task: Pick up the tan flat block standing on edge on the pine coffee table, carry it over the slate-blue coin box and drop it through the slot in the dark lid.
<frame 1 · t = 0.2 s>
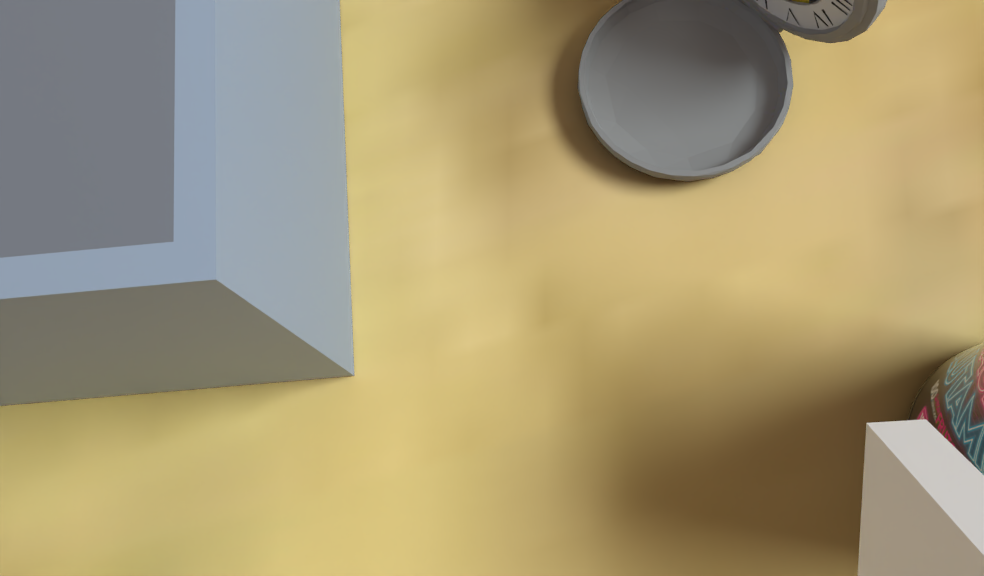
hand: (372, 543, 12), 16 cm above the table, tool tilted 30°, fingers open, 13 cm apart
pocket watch: (708, 72, 31), on the table
coin box: (136, 125, 31), on the table
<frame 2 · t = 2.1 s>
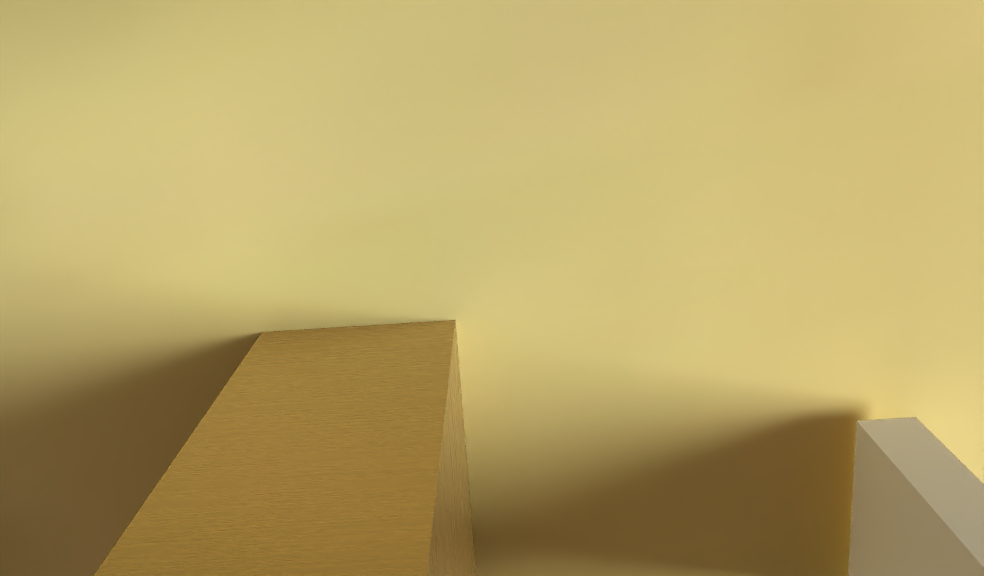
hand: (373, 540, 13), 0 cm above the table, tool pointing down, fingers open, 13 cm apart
tan flat block: (381, 530, 13), on the table
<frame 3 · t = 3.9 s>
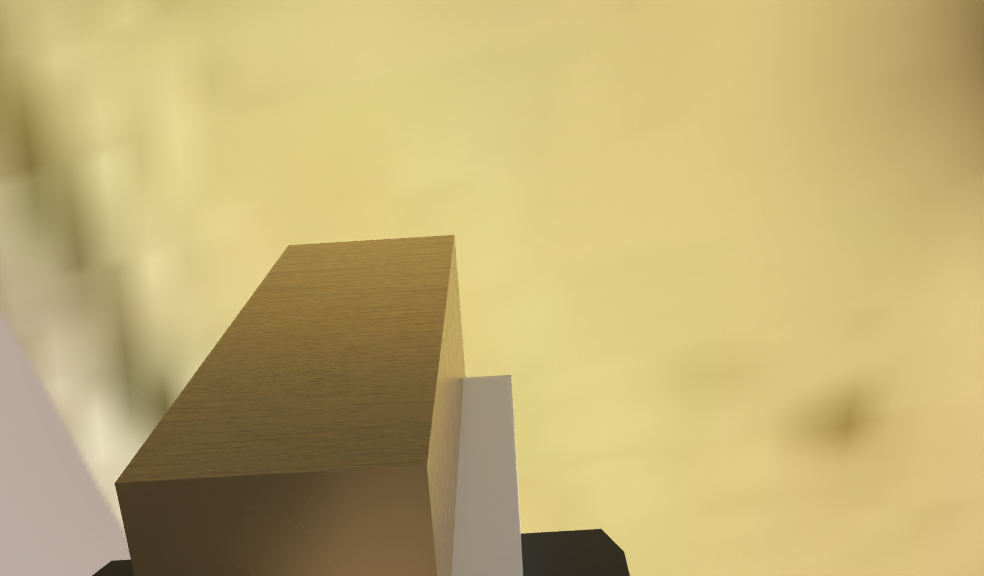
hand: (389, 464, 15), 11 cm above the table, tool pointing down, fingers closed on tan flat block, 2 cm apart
tan flat block: (390, 420, 15), point 10 cm above the table, touching gripper
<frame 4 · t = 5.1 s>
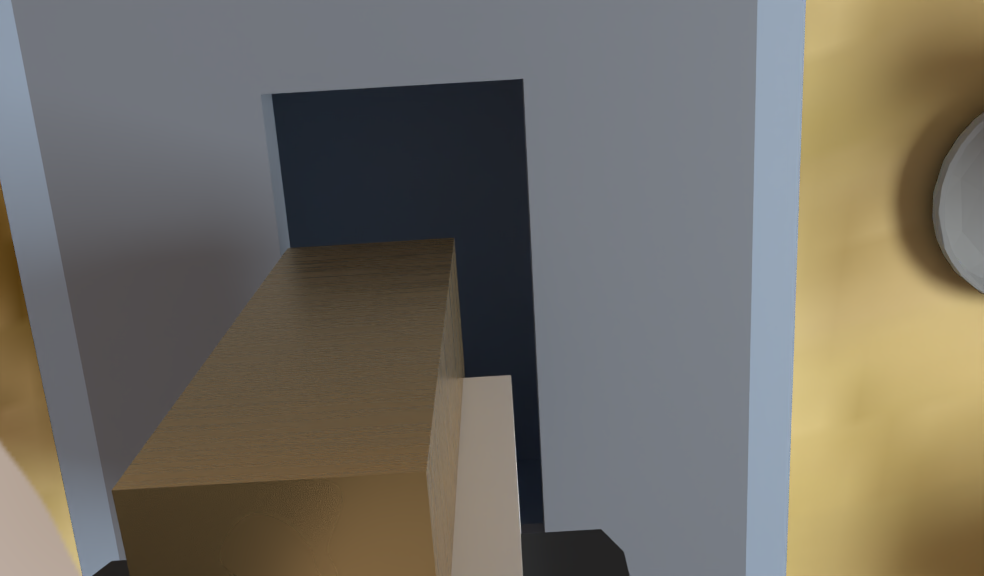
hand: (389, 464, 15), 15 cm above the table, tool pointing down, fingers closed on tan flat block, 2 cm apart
tan flat block: (390, 423, 15), point 15 cm above the table, touching gripper
coin box: (445, 205, 29), on the table
when the fingers open (13 cm above the table, at t = 5.6 s): tan flat block drops 10 cm and tips over, resting on coin box.
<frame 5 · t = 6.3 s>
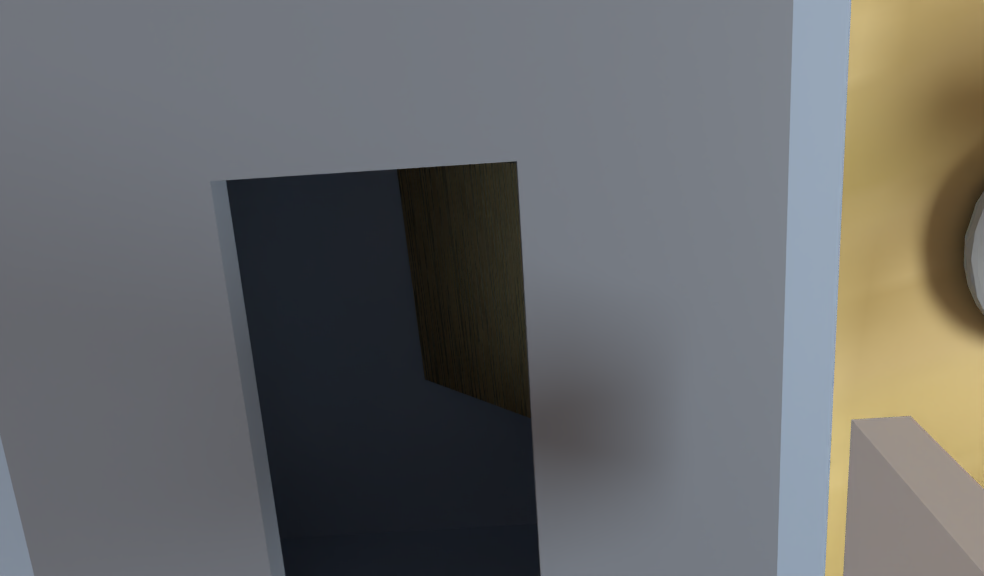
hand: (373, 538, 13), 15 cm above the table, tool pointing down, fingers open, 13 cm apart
tan flat block: (448, 258, 25), point 2 cm above the table, tilted 42°, touching coin box
coin box: (434, 253, 27), on the table
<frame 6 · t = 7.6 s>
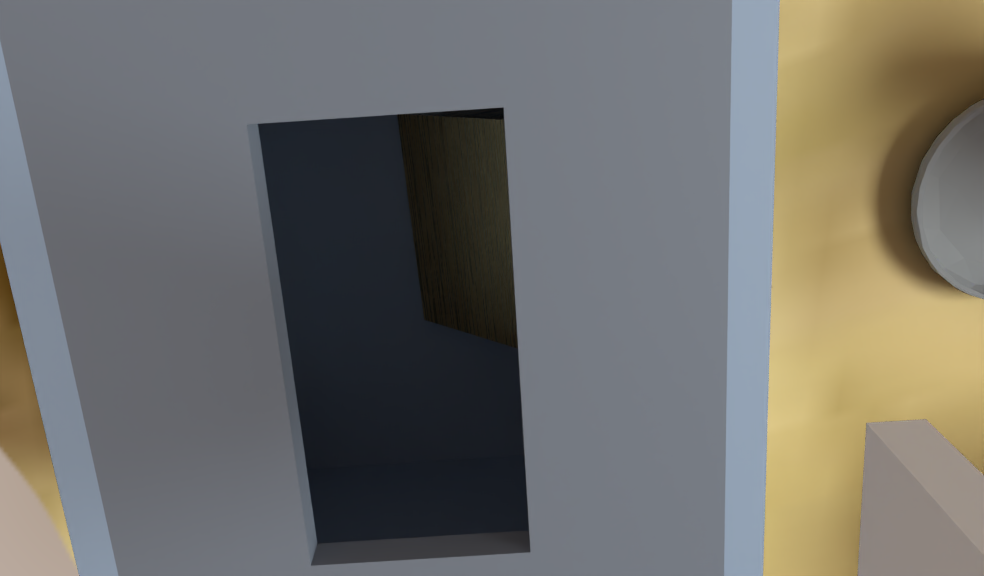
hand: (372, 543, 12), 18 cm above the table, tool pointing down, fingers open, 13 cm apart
tan flat block: (444, 210, 27), point 2 cm above the table, tilted 42°, touching coin box
coin box: (432, 208, 29), on the table
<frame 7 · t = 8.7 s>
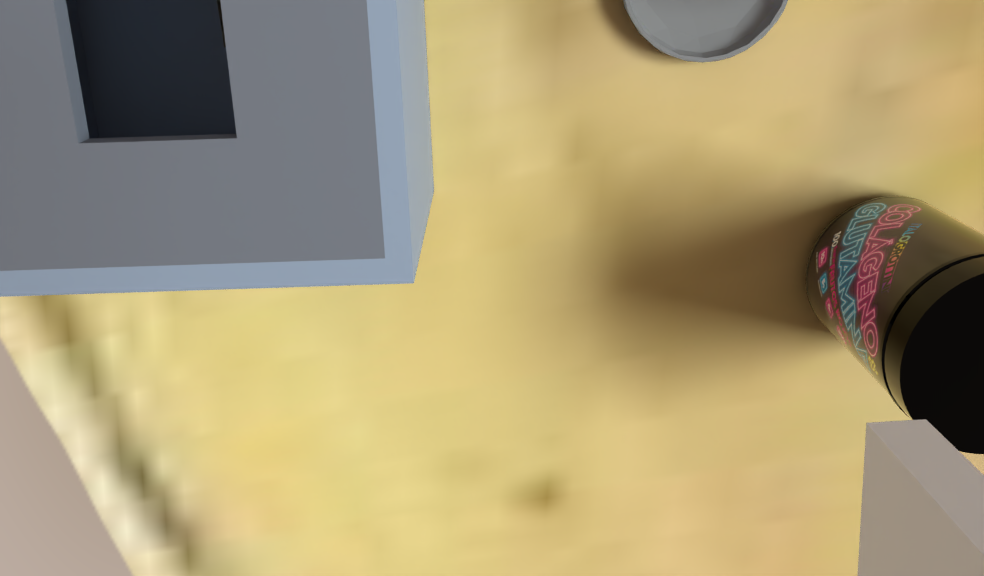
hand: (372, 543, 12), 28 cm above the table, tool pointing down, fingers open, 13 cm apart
supplement container: (875, 265, 41), on the table
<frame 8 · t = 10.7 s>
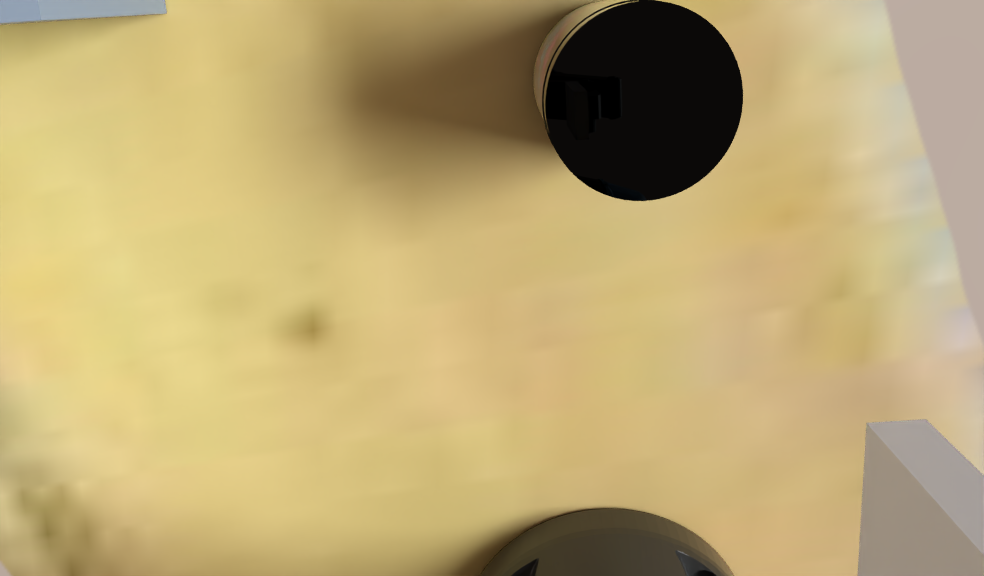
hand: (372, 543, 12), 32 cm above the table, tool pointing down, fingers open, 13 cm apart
supplement container: (606, 77, 42), on the table
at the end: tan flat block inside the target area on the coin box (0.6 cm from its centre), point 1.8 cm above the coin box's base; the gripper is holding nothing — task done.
